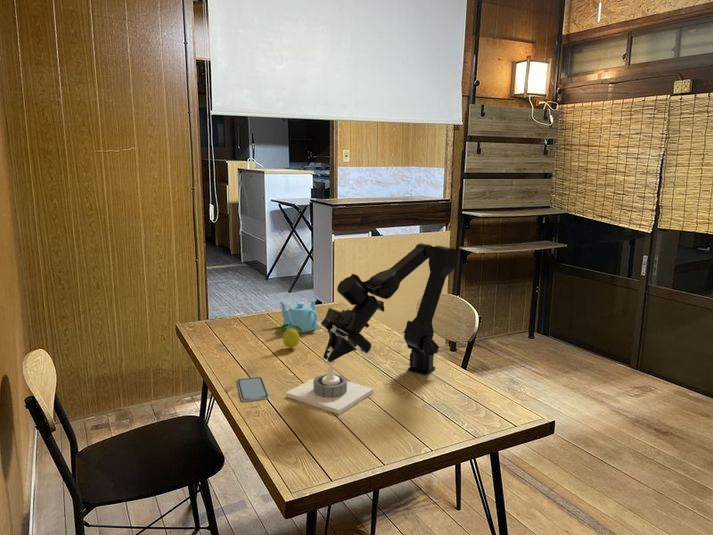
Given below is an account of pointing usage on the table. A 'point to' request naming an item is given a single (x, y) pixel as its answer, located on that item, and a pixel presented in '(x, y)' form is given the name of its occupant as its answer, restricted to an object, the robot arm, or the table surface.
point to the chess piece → (330, 373)
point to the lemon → (291, 335)
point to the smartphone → (252, 389)
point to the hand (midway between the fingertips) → (326, 359)
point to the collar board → (330, 402)
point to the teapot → (300, 316)
